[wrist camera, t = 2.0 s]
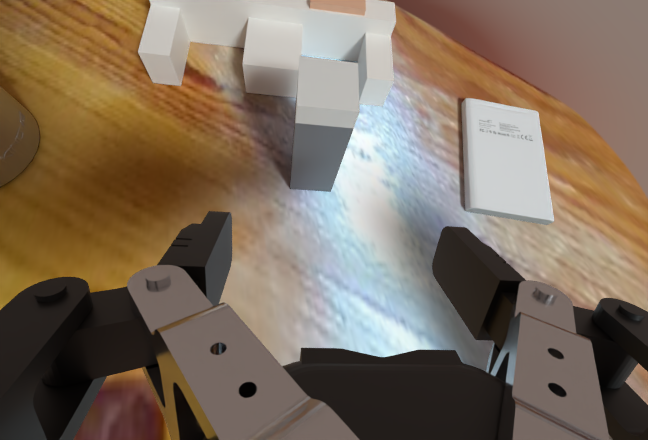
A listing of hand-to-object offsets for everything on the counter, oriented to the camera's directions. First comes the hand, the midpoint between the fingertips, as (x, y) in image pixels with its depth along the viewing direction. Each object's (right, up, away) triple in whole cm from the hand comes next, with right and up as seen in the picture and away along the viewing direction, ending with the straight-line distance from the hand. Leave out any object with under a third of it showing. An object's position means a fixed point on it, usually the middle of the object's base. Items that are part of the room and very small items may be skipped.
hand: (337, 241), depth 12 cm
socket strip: (-5, +17, +21) cm, 27 cm away
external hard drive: (+17, +6, +21) cm, 28 cm away
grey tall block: (-2, +5, +17) cm, 18 cm away
